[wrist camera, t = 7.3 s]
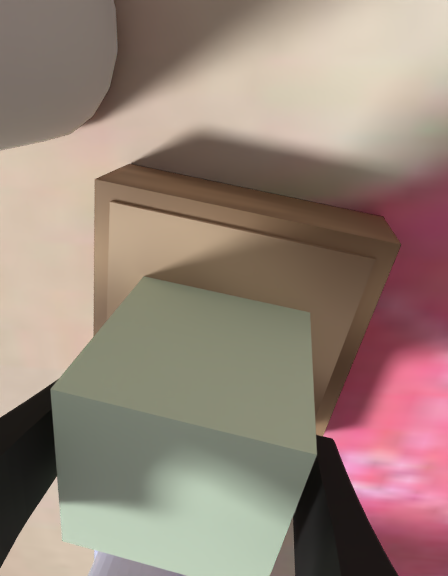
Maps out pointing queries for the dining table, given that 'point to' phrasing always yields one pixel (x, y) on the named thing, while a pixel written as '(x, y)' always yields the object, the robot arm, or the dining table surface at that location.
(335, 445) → the robot arm
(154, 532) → the green cube
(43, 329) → the dining table surface
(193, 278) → the brown shallow tray
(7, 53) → the can
